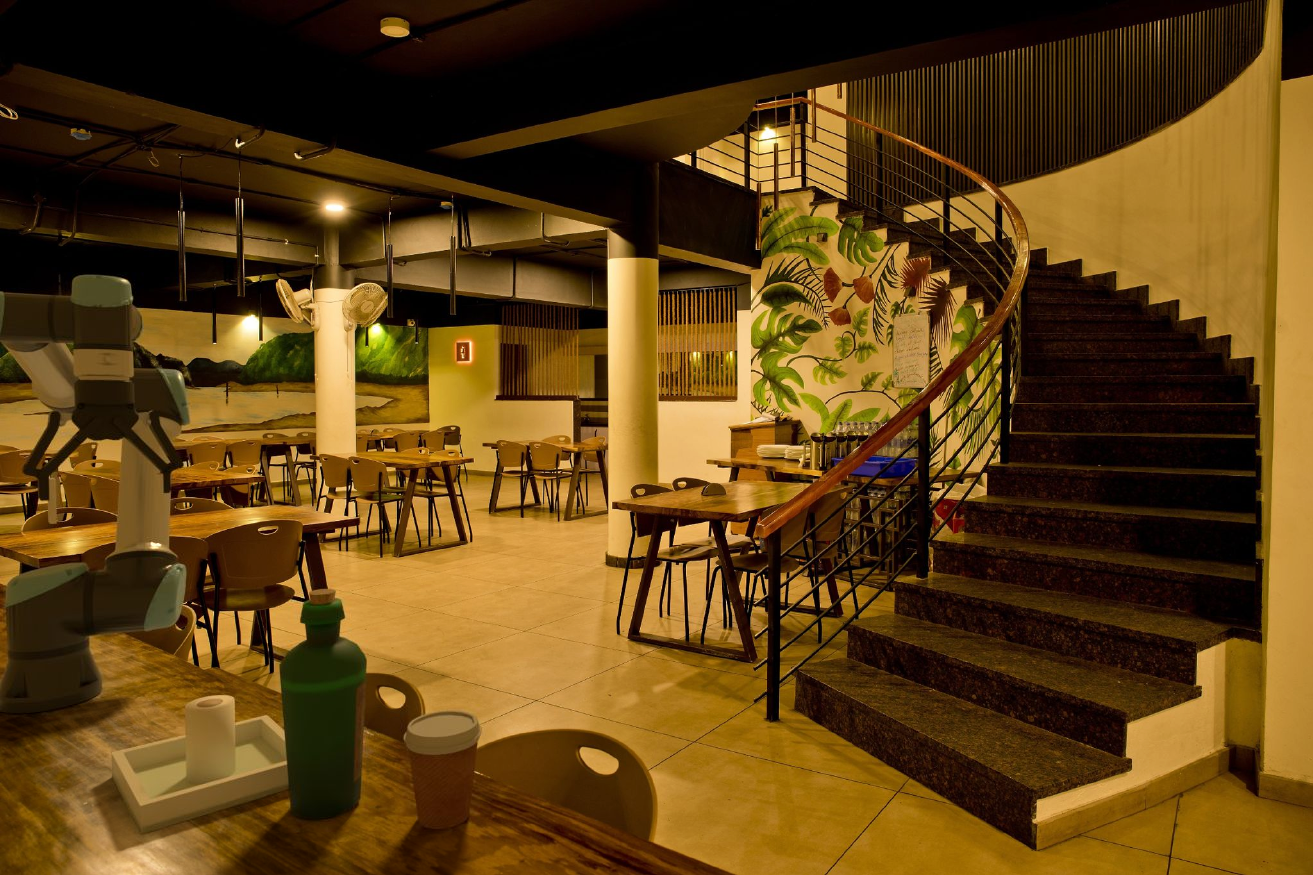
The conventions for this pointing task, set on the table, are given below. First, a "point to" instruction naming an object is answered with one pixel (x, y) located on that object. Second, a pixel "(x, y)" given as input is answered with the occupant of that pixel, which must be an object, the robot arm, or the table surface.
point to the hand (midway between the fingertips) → (108, 518)
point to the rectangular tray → (168, 798)
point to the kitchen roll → (210, 739)
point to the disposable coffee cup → (443, 766)
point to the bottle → (323, 712)
